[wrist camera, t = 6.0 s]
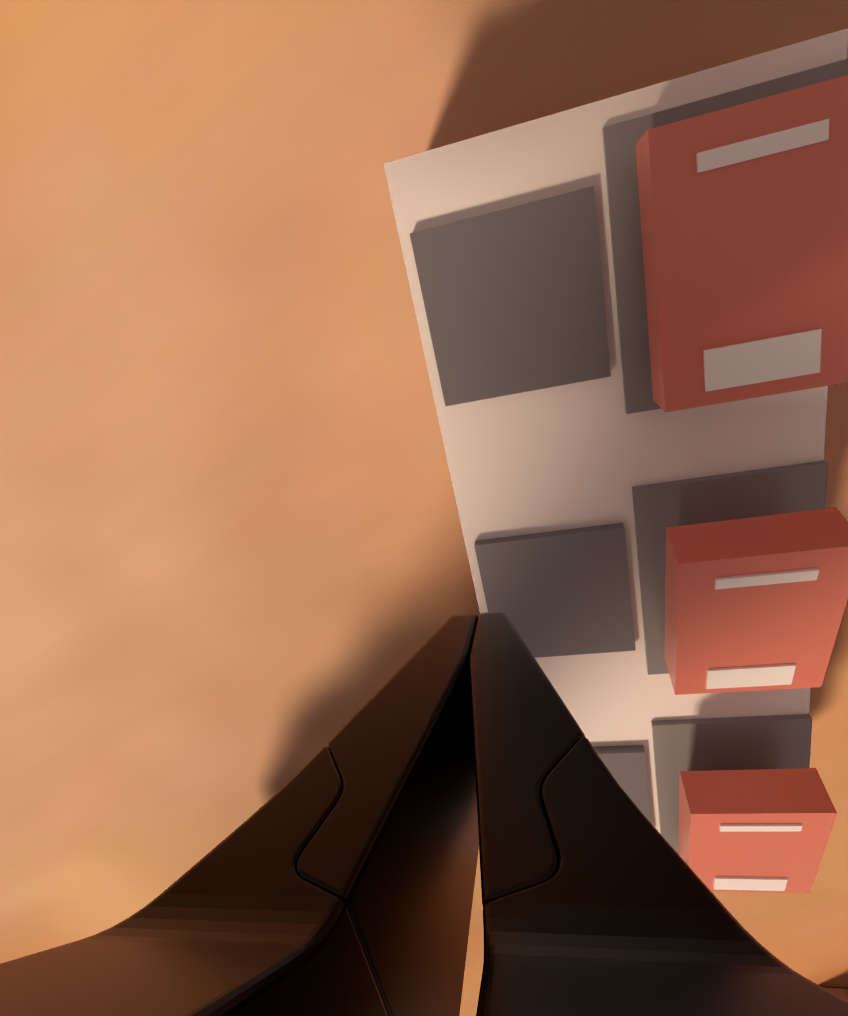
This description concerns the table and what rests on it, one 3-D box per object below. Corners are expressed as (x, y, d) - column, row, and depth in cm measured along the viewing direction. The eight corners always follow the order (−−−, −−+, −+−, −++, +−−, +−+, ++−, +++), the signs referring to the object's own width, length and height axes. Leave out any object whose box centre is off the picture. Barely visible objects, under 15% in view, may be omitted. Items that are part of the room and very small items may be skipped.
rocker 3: (831, 370, 12) (864, 380, 10) (653, 399, 12) (666, 413, 11) (842, 88, 10) (885, 64, 9) (635, 143, 11) (649, 129, 10)
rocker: (801, 648, 15) (822, 689, 14) (664, 657, 16) (675, 697, 15) (836, 507, 12) (865, 547, 11) (665, 527, 13) (679, 566, 12)
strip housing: (754, 861, 25) (797, 974, 21) (548, 859, 27) (553, 961, 23) (763, 85, 14) (857, 22, 10) (414, 183, 16) (380, 161, 12)
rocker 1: (793, 850, 18) (811, 895, 17) (677, 850, 19) (687, 892, 18) (815, 768, 15) (838, 815, 14) (679, 771, 16) (691, 816, 15)
